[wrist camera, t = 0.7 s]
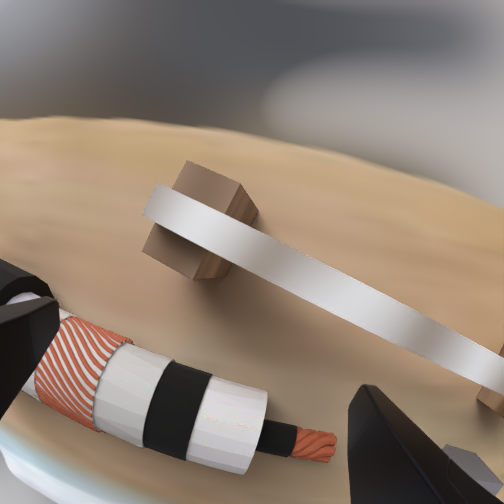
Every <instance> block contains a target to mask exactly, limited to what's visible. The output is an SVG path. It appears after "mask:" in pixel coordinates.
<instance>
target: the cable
mask: <svg viewBox="0 0 504 504" xmlns="http://www.w3.org/2000/svg"><path fill="white" fill-rule="evenodd" d="M45 296H47V297H50V298H52V299H54V297H53V295H52V293H51V291H50V288H49V286H48V284H47V283H45V282H44V281H42V280H41V279H39V278H38V277H36V276H35V275H33V274H30V273H28V272H26V271H24V270H22V269H20V268H18V267H16V266H14V265H12V264H10V263H8V262H6V261H4V260H2V259H0V306H3V305H8V304H12V303H17V302H22V301H26V300H31V299H36V298H40V297H45ZM59 313H60V328H59V331H58V333H57V334H56V336H55V338H54V339H53V341H52V343H51V344H50V346H49V348H48V349H47V351H46V353H45V354H44V356H43V358H42V360H41V361H40V363H39V364H38V366H37V368H36V369H35V371H34V372H33V373H32V375H31V376H30V378H29V379H28V380H27V382H26V383H25V385H24V386H23V387H22V389H21V390H20V391H24V392H26V393H28V394H29V395H31V396H33V397H34V398H36V400H38V401H39V402H41V403H45V404H46V405H48V406H49V407H51V408H53V409H55V410H57V411H58V412H60V413H62V414H64V415H65V416H67V417H69V418H71V419H73V420H75V421H77V422H79V423H80V424H82V425H84V426H86V427H88V428H90V429H92V430H94V431H96V432H99V433H100V431H102V432H103V431H104V433H106V432H107V433H109V434H111V435H114V436H116V437H118V438H121V439H123V440H125V441H127V442H129V443H131V444H134V445H136V446H138V447H140V448H150V449H153V450H155V451H158V452H161V453H164V454H166V455H169V456H172V457H175V458H178V459H181V460H184V461H185V460H189V461H192V462H196V463H199V464H202V465H206V466H209V467H213V468H216V469H220V470H224V471H228V472H232V473H236V474H240V475H243V474H244V473H245V472H246V471H247V469H248V467H249V464H250V462H251V460H252V458H253V455H254V452H255V450H256V451H260V452H264V453H269V454H273V455H278V456H283V457H288V456H290V457H298V458H301V459H310V460H313V461H319V462H327V463H328V462H329V460H330V457H331V456H333V455H334V453H335V447H334V445H335V444H336V441H337V438H336V436H334V434H333V433H327V432H322V431H318V432H316V431H314V430H310V429H305V430H303V429H302V428H301V427H297V426H294V425H290V424H285V423H280V422H276V421H271V420H267V419H264V416H265V412H266V405H267V392H266V391H265V390H261V389H258V388H254V387H250V386H246V385H243V384H239V383H235V382H232V381H228V380H225V379H222V378H218V377H215V376H213V375H212V374H210V373H207V372H204V371H201V370H197V369H194V368H191V367H188V366H185V365H182V364H179V363H176V362H175V360H173V359H171V358H168V357H165V356H162V355H159V354H156V353H153V352H150V351H148V350H145V349H142V348H139V347H137V346H134V344H132V343H133V341H132V340H130V339H129V338H126V337H123V336H120V335H117V334H115V333H113V332H110V331H107V330H105V329H103V328H101V327H98V326H95V325H93V324H92V323H89V322H86V321H83V320H82V319H80V318H79V317H77V316H75V315H73V314H71V313H69V312H66V311H64V310H62V309H60V308H59Z"/></svg>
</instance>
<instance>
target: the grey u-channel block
mask: <svg viewBox="0 0 504 504" xmlns="http://www.w3.org/2000/svg"><path fill="white" fill-rule="evenodd" d="M443 451H444V452H445V453H446V454H447V455H448V456H449V459H450V458H451V459H452V460H453V461H454V462H455V463H456V464H457V465H458V466H459V467H460V468H461V469H463V470H464V471H465V472H466V473H467V474H468V475H469V476H470V477H472V478H473V479H474V480H475V481H476V482H478V483H479V484H480V485H481V486H483V487H484V488H485V489H486V490H488V491H489V492H490V493H491V494H493V495H494V496H495V495H496V494H497V493H498V491H499V490H500V489H501V488H502V486H503V485H504V484H503V483H502V482H501V481H500V480H499V479H498V477H497V476H496V475H495V474H494V473H493V472H492V471H491V470H490V469H489V468H488V466H487V465H486V464H485V463H484V462H483V461H482V460H481V459H480V458H479V457H478V456H477V454H476V453H473V452H469V451H466V450H463V449H459V448H456V447H453V446H449V445H446V446H445V447H444V449H443Z"/></svg>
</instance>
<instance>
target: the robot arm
mask: <svg viewBox="0 0 504 504" xmlns="http://www.w3.org/2000/svg"><path fill="white" fill-rule="evenodd" d="M59 328H60V313H59V303H58V301H57V300H55V299H52V298H50V297H47V296H45V297H40V298H36V299H31V300H26V301H22V302H17V303H12V304H8V305H3V306H0V420H1V418H2V417H3V415H4V414H5V412H6V411H7V409H8V408H9V406H10V405H11V403H12V402H13V400H14V399H15V397H16V396H17V395H18V393H19V392H20V390H21V389H22V387H23V386H24V385H25V383H26V382H27V380H28V379H29V378H30V376H31V375H32V373H33V372H34V371H35V369H36V368H37V366H38V364H39V363H40V361H41V360H42V358H43V356H44V354H45V353H46V351H47V349H48V348H49V346H50V344H51V343H52V341H53V339H54V338H55V336H56V334H57V333H58V331H59ZM347 455H348V468H349V481H350V496H351V504H504V503H503V502H502V501H500V500H499V499H498V498H497V497H495V496H494V495H493V494H491V493H490V492H489V491H488V490H486V489H485V488H484V487H483V486H481V485H480V484H479V483H478V482H476V481H475V480H474V479H473V478H472V477H470V476H469V475H468V474H467V473H466V472H465V471H464V470H463V469H461V468H460V467H459V466H458V465H457V464H456V463H455V462H454V461H453V460H452V459H451V458H450V459H449V456H448V455H447V454H446V453H445V452H444V451H443V450H442V449H441V448H440V447H438V446H437V445H436V444H435V443H434V442H433V441H432V440H431V439H430V438H429V437H428V436H427V435H426V434H425V433H424V432H423V431H422V430H421V429H420V428H419V427H418V426H417V425H416V424H415V423H414V422H413V421H412V420H411V419H410V418H408V417H407V416H406V415H405V414H404V413H403V412H402V411H401V410H400V409H399V408H398V407H397V406H396V405H395V404H394V403H393V402H392V401H391V400H390V399H389V398H388V397H387V396H386V395H385V394H384V393H383V392H382V391H381V390H380V389H379V388H378V387H377V386H375V385H368V384H363V385H361V386H360V388H359V389H358V391H357V393H356V394H355V396H354V398H353V400H352V401H351V403H350V405H349V409H348V452H347Z"/></svg>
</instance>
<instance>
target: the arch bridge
mask: <svg viewBox="0 0 504 504" xmlns="http://www.w3.org/2000/svg"><path fill="white" fill-rule="evenodd" d="M257 212H258V209H257V207H256V206H255V204H254V203H253V201H252V200H251V198H250V197H249V195H248V194H247V193H246V191H245V190H244V188H243V187H242V185H241V184H240V183H238V182H236V181H234V180H232V179H229V178H227V177H225V176H223V175H220V174H218V173H216V172H213V171H211V170H209V169H207V168H204V167H202V166H200V165H197V164H195V163H193V162H190V161H188V160H187V161H186V163H185V165H184V167H183V169H182V170H181V172H180V174H179V176H178V178H177V180H176V182H175V184H174V186H173V188H172V189H170V188H168V187H166V186H164V185H162V184H160V183H157V185H156V187H155V189H154V191H153V193H152V195H151V197H150V199H149V201H148V203H147V205H146V207H145V209H144V211H143V213H142V215H143V216H145V217H146V218H148V219H150V220H152V221H154V222H155V224H154V226H153V228H152V230H151V232H150V234H149V237H148V239H147V241H146V243H145V245H144V247H143V250H142V252H144V253H146V254H147V255H149V256H151V257H152V258H154V259H156V260H158V261H159V262H161V263H163V264H165V265H166V266H168V267H170V268H172V269H173V270H175V271H177V272H179V273H181V274H182V275H184V276H186V277H188V278H190V279H191V280H197V279H208V278H219V277H225V276H226V274H227V272H228V270H229V268H230V266H231V264H232V263H234V264H236V265H238V266H240V267H242V268H244V269H246V270H248V271H250V272H252V273H254V274H256V275H258V276H260V277H262V278H263V279H265V280H267V281H269V282H271V283H273V284H275V285H277V286H279V287H281V288H283V289H285V290H287V291H289V292H291V293H293V294H295V295H297V296H299V297H301V298H303V299H305V300H307V301H309V302H311V303H313V304H315V305H317V306H319V307H321V308H323V309H325V310H327V311H329V312H331V313H333V314H335V315H337V316H339V317H341V318H343V319H345V320H347V321H349V322H351V323H353V324H355V325H357V326H359V327H361V328H363V329H365V330H367V331H369V332H371V333H374V334H376V335H378V336H380V337H382V338H384V339H386V340H388V341H390V342H392V343H394V344H396V345H398V346H400V347H402V348H404V349H406V350H409V351H411V352H413V353H415V354H417V355H419V356H421V357H423V358H425V359H427V360H429V361H432V362H434V363H436V364H438V365H440V366H442V367H444V368H446V369H448V370H450V371H453V372H455V373H457V374H459V375H461V376H463V377H465V378H468V379H470V380H472V381H474V382H476V383H478V384H480V385H483V387H482V389H481V391H480V393H479V394H478V396H477V399H479V400H480V401H481V402H483V403H484V404H486V405H487V406H488V407H490V408H491V409H492V410H494V411H495V412H496V413H498V414H499V415H500V416H502V417H503V418H504V345H503V347H502V350H501V352H500V354H499V355H497V354H495V353H494V352H492V351H490V350H488V349H486V348H484V347H483V346H481V345H479V344H477V343H475V342H473V341H472V340H470V339H468V338H466V337H464V336H462V335H461V334H459V333H457V332H455V331H453V330H451V329H449V328H447V327H446V326H444V325H442V324H440V323H438V322H436V321H434V320H432V319H431V318H429V317H427V316H425V315H423V314H421V313H419V312H417V311H415V310H414V309H412V308H410V307H408V306H406V305H404V304H402V303H400V302H398V301H396V300H394V299H393V298H391V297H389V296H387V295H385V294H383V293H381V292H379V291H377V290H375V289H373V288H371V287H369V286H367V285H365V284H364V283H362V282H360V281H358V280H356V279H354V278H352V277H350V276H348V275H346V274H344V273H342V272H340V271H338V270H336V269H334V268H332V267H330V266H328V265H326V264H324V263H322V262H320V261H318V260H316V259H314V258H312V257H310V256H308V255H306V254H304V253H302V252H300V251H298V250H296V249H294V248H292V247H290V246H288V245H286V244H284V243H282V242H280V241H278V240H276V239H274V238H272V237H270V236H268V235H266V234H264V233H262V232H260V231H258V230H256V229H254V228H252V227H250V226H251V224H252V222H253V220H254V218H255V216H256V214H257Z"/></svg>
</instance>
